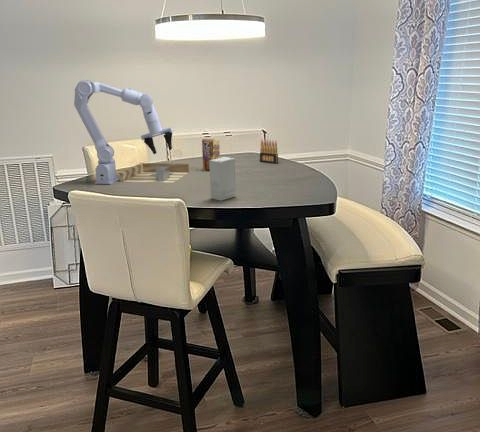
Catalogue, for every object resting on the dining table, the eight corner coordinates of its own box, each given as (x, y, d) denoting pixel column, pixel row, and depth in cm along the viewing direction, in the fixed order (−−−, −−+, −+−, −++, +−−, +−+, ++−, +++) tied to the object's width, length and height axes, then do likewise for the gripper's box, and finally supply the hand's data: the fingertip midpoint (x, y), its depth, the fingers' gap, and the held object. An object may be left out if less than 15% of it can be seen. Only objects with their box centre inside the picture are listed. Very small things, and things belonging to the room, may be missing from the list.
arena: (173, 184, 216) (172, 173, 215) (120, 183, 221) (119, 172, 220) (189, 173, 239) (188, 163, 238) (141, 172, 244) (140, 163, 243)
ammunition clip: (259, 162, 265) (259, 139, 262) (261, 161, 267) (261, 138, 264) (276, 164, 259) (276, 140, 255) (278, 163, 260) (278, 140, 257)
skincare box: (225, 194, 196) (224, 156, 192) (236, 196, 192) (235, 157, 188) (209, 198, 190) (208, 159, 186) (221, 201, 186) (219, 161, 182)
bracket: (163, 181, 219) (163, 170, 218) (151, 181, 220) (151, 169, 219) (169, 177, 227) (169, 166, 225) (158, 177, 228) (157, 166, 226)
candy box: (221, 171, 242) (219, 139, 238) (213, 173, 239) (212, 140, 235) (209, 169, 249) (208, 138, 244) (202, 170, 246) (201, 139, 242)
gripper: (170, 115, 223) (180, 145, 227) (141, 124, 227) (151, 153, 231) (165, 118, 216) (175, 149, 220) (135, 127, 220) (145, 157, 224)
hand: (163, 151), depth 225 cm, fingers open, 7 cm apart
